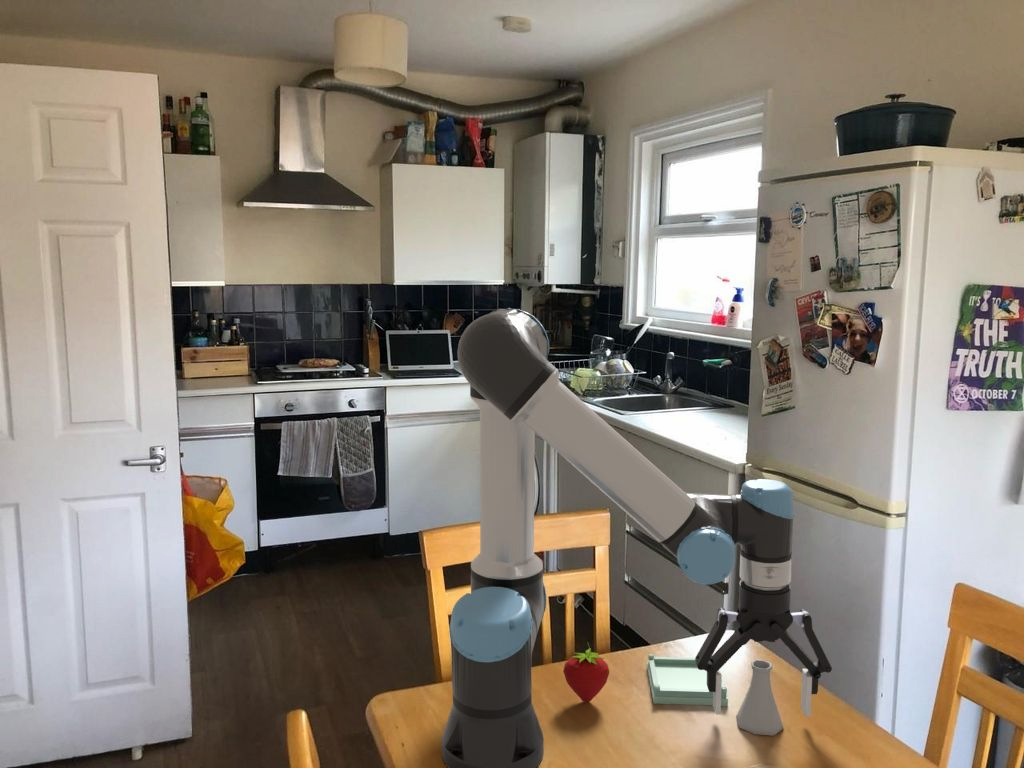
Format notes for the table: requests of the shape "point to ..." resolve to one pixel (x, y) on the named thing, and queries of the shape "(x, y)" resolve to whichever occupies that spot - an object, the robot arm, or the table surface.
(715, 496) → the robot arm
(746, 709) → the flask
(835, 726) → the table surface
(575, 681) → the strawberry
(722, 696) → the base board
